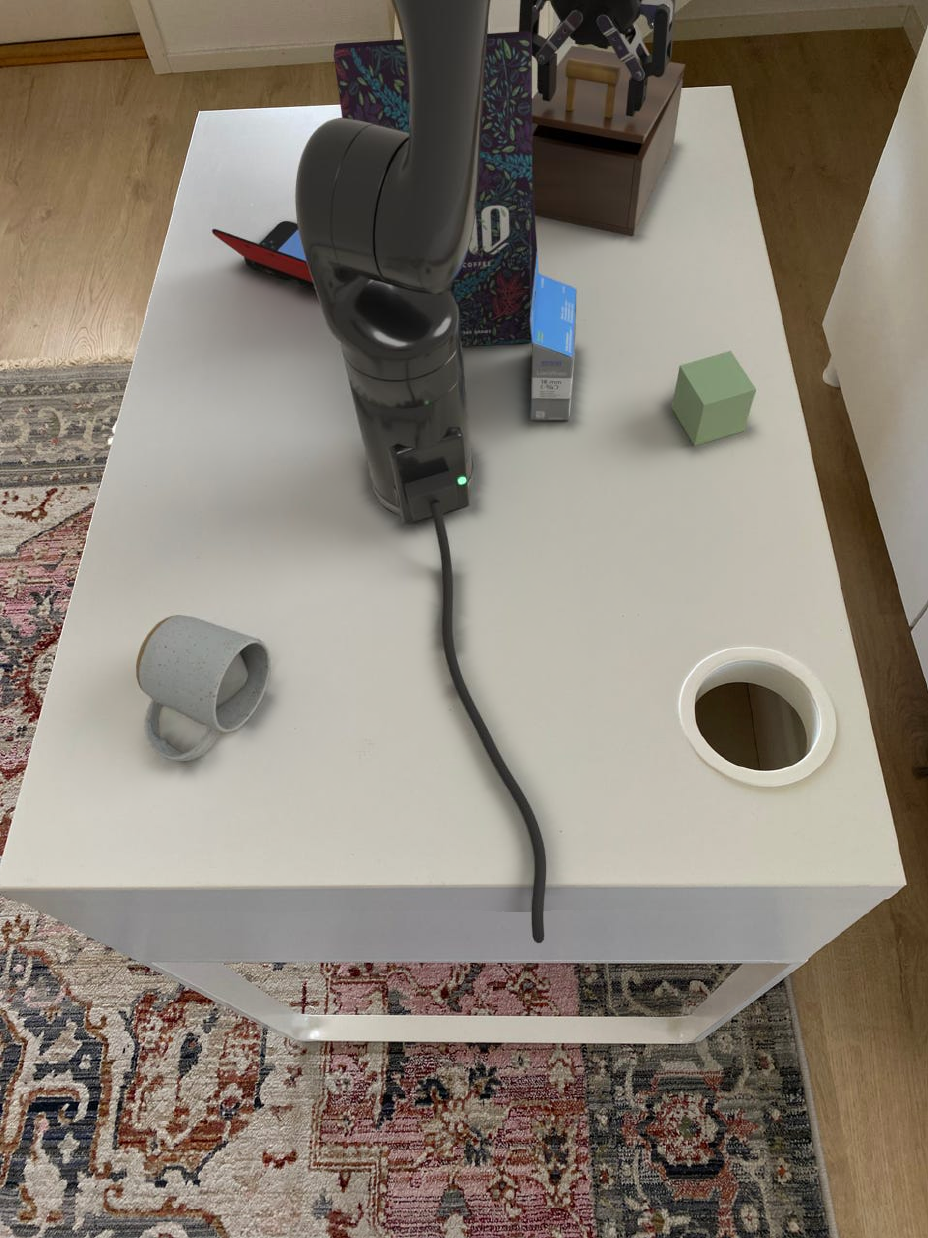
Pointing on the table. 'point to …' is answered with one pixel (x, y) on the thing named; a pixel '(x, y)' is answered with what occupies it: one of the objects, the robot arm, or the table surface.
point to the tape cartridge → (552, 347)
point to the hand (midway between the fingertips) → (590, 103)
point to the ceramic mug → (200, 678)
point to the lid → (602, 96)
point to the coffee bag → (505, 204)
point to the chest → (600, 172)
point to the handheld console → (274, 253)
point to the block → (713, 398)
